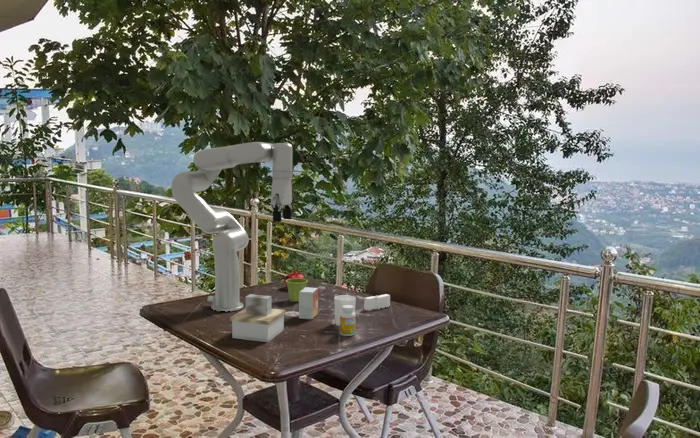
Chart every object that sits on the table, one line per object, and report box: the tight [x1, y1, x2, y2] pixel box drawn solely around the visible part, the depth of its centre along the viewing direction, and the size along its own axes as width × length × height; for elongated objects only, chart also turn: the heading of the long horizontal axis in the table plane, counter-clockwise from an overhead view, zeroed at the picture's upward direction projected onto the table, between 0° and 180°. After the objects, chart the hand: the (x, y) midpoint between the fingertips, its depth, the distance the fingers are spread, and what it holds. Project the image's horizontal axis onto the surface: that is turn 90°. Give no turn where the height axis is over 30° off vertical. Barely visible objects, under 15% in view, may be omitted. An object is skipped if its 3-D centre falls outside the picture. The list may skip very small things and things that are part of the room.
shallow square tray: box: [231, 314, 285, 343], centre depth 175 cm, size 13×13×6 cm
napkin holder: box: [363, 293, 391, 312], centre depth 210 cm, size 15×11×6 cm
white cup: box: [333, 294, 357, 327], centre depth 188 cm, size 8×8×10 cm
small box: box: [298, 286, 319, 320], centre depth 197 cm, size 8×6×10 cm
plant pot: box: [286, 278, 309, 303], centre depth 219 cm, size 9×9×9 cm
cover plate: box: [229, 293, 287, 325], centre depth 175 cm, size 14×14×7 cm
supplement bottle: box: [339, 305, 357, 337], centre depth 177 cm, size 5×5×10 cm
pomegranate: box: [283, 268, 306, 289], centre depth 241 cm, size 10×10×9 cm
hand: (282, 220), depth 196 cm, fingers open, 9 cm apart
